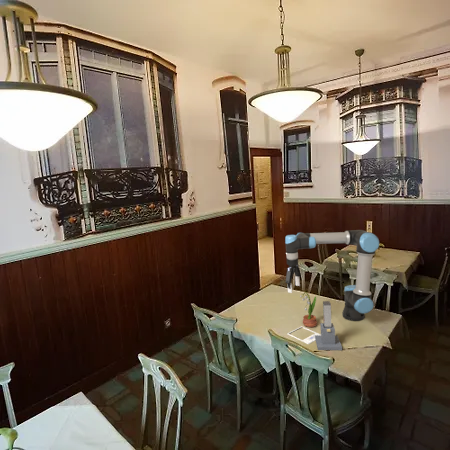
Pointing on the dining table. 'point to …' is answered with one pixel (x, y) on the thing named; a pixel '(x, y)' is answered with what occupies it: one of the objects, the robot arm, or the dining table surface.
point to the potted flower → (309, 319)
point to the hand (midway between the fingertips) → (294, 288)
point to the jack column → (327, 314)
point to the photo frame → (308, 339)
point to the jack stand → (328, 339)
